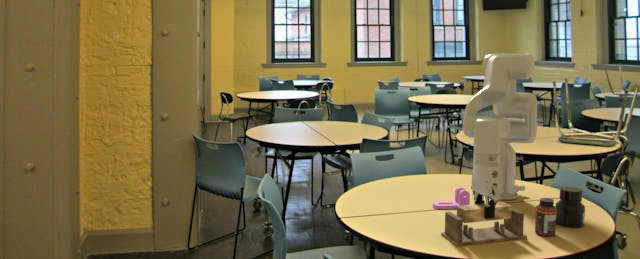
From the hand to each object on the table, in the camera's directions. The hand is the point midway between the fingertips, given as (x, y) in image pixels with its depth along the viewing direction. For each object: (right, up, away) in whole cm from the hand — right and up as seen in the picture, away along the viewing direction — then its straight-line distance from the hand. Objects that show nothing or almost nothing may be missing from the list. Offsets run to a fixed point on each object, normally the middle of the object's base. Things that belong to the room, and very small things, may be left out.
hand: (484, 215), depth 159 cm
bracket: (-2, -3, +33) cm, 33 cm away
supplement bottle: (+20, -7, +3) cm, 22 cm away
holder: (0, -7, +1) cm, 7 cm away
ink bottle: (+32, -5, +12) cm, 35 cm away
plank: (0, -1, 0) cm, 1 cm away
